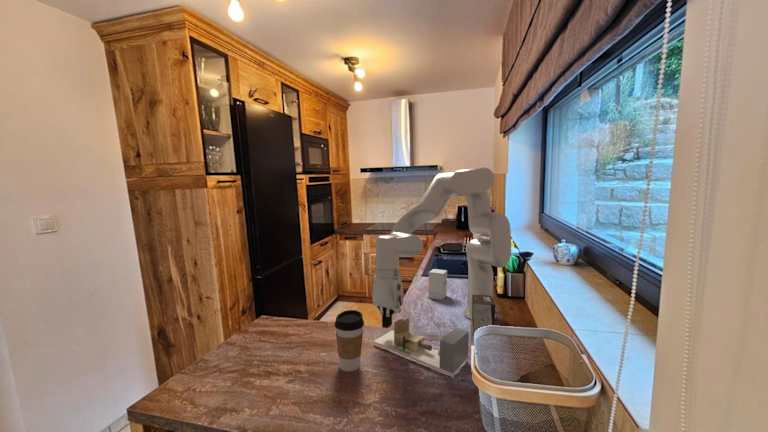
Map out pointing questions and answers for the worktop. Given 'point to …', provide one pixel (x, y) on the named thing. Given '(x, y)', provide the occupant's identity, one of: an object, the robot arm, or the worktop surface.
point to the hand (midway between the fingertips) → (386, 326)
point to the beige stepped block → (408, 336)
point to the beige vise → (435, 351)
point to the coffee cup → (349, 339)
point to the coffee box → (482, 312)
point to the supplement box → (437, 284)
